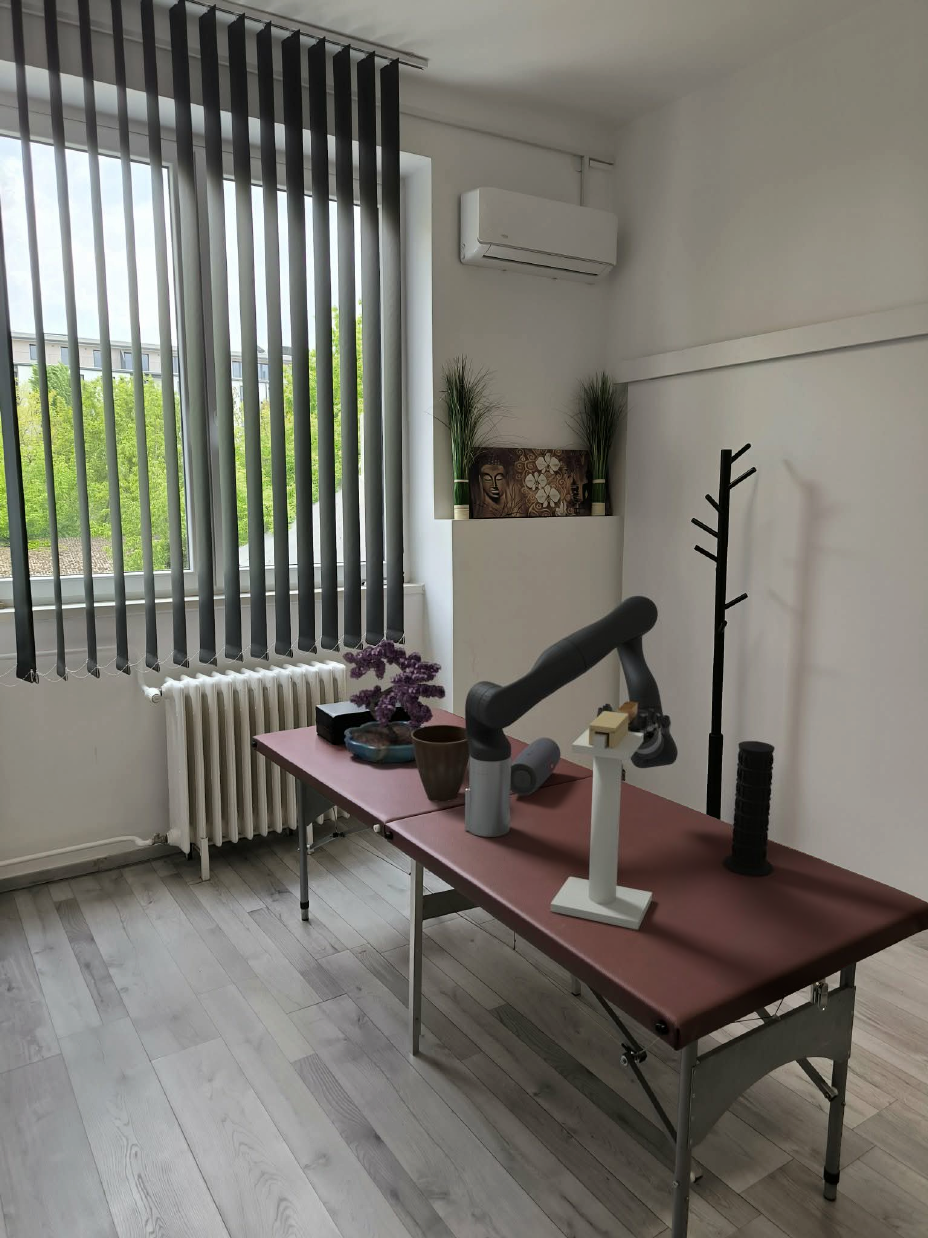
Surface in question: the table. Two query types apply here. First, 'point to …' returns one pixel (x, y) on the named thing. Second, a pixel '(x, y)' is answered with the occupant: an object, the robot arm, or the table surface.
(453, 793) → the plant pot
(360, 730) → the bonsai tree
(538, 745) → the bluetooth speaker
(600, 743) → the grey orange square rod
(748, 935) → the table surface
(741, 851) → the handle grip
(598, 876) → the stand
